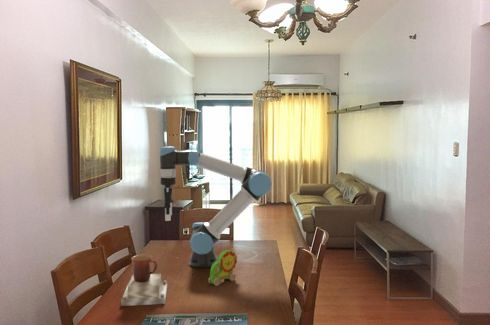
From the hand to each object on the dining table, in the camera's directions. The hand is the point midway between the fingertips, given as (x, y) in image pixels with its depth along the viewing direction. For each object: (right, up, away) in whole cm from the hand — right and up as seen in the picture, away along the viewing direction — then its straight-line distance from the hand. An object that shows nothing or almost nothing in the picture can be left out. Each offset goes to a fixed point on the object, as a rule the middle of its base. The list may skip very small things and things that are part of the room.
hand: (168, 217), depth 216 cm
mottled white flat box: (-5, -31, -30) cm, 43 cm away
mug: (-5, -24, -31) cm, 39 cm away
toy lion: (+29, -30, -11) cm, 43 cm away
